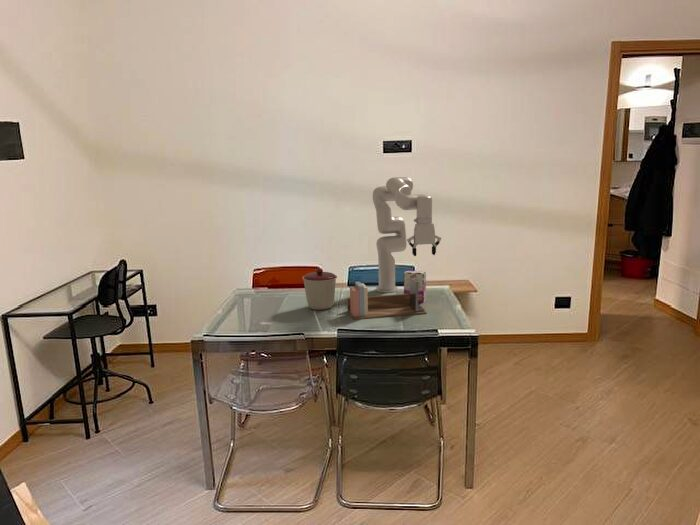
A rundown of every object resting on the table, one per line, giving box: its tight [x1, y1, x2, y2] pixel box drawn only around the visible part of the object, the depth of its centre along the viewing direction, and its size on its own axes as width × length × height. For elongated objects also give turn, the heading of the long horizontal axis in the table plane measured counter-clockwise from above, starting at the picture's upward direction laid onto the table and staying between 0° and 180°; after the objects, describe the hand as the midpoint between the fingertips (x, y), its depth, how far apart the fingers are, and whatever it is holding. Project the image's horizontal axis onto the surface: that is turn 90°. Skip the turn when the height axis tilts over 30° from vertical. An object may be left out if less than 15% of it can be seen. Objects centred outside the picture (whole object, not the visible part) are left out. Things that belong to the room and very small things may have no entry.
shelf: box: [346, 293, 427, 321], centre depth 267 cm, size 15×37×7 cm, turn 101°
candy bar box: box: [403, 270, 427, 304], centre depth 285 cm, size 11×5×16 cm, turn 66°
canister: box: [302, 267, 338, 311], centre depth 277 cm, size 18×18×21 cm
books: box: [349, 281, 369, 317], centre depth 263 cm, size 10×7×15 cm
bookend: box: [410, 278, 426, 312], centre depth 268 cm, size 10×5×15 cm, turn 11°
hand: (424, 255), depth 264 cm, fingers open, 9 cm apart
